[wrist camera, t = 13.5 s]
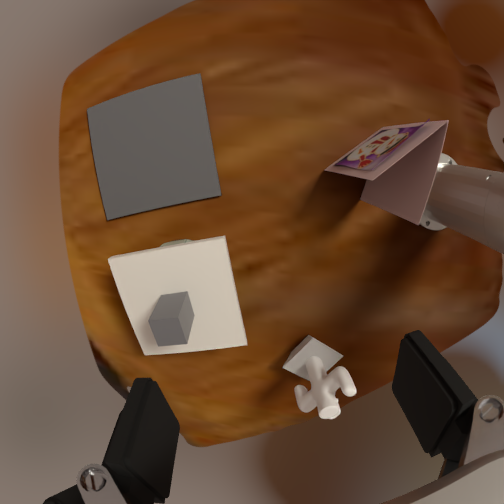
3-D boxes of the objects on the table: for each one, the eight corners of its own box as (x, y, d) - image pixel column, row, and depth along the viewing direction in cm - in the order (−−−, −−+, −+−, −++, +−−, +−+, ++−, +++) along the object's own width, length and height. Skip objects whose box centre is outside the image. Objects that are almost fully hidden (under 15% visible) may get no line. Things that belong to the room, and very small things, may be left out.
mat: (200, 74, 31) (200, 73, 31) (221, 194, 37) (221, 195, 36) (88, 109, 32) (87, 108, 31) (108, 219, 37) (107, 220, 37)
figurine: (275, 357, 46) (286, 425, 32) (312, 319, 44) (338, 385, 30) (305, 373, 48) (323, 437, 34) (341, 338, 45) (372, 400, 31)
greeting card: (379, 122, 34) (444, 112, 20) (404, 164, 36) (472, 175, 22) (320, 165, 36) (367, 172, 22) (349, 208, 38) (403, 238, 24)
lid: (225, 235, 33) (221, 256, 26) (247, 340, 37) (248, 375, 31) (111, 256, 33) (86, 279, 26) (146, 351, 38) (133, 383, 31)
